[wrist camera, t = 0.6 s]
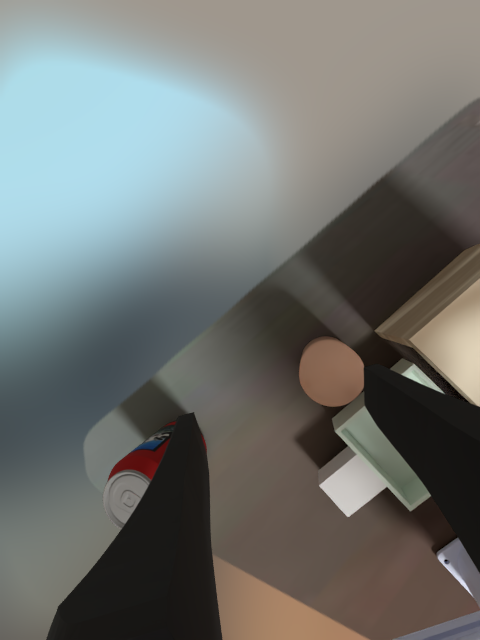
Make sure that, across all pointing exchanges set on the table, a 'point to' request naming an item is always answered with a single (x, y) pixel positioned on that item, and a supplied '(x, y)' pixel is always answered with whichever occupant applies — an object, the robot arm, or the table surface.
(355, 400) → the tray
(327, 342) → the pink-tan solid cylinder
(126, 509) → the beverage can
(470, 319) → the shelf
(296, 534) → the table surface
